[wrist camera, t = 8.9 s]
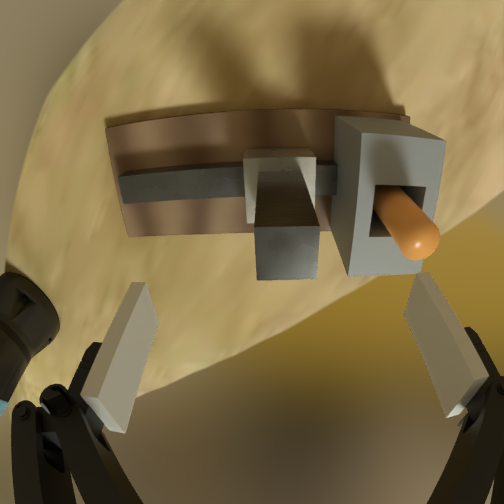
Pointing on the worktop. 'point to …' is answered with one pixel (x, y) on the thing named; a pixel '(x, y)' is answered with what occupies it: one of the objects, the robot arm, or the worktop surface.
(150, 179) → the rail
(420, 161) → the end cabinet
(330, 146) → the base board
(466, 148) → the worktop surface
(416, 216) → the button
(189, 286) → the worktop surface
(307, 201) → the carriage
